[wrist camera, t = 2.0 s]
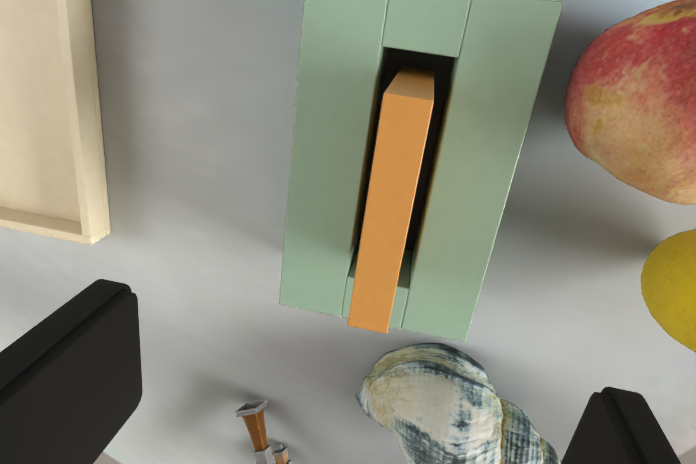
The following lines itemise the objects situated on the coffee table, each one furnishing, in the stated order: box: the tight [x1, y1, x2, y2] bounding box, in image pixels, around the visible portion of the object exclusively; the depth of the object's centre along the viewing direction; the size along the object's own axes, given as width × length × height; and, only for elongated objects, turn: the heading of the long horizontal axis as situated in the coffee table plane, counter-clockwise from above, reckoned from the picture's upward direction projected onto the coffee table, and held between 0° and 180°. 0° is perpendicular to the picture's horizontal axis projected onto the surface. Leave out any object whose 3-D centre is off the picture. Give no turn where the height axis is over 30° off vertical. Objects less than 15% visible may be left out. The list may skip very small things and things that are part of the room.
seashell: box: [355, 343, 562, 464], centre depth 30 cm, size 6×8×12 cm
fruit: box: [565, 0, 696, 205], centre depth 20 cm, size 8×8×8 cm
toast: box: [347, 66, 434, 333], centre depth 21 cm, size 9×2×10 cm, turn 173°
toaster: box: [279, 0, 563, 342], centre depth 24 cm, size 17×10×5 cm, turn 173°
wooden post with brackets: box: [235, 399, 292, 464], centre depth 36 cm, size 2×8×4 cm, turn 21°
